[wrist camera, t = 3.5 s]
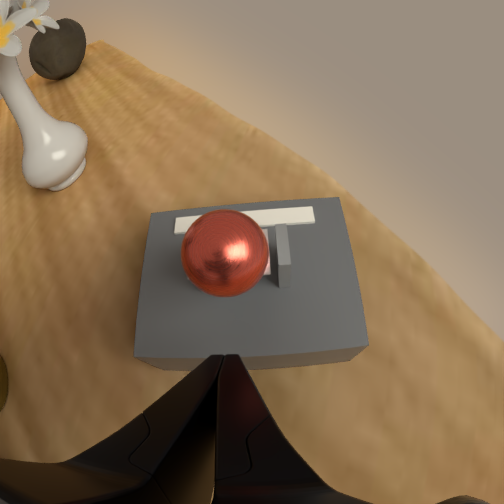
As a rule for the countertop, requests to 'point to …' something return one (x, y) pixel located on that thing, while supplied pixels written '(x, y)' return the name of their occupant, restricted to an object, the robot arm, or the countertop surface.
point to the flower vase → (37, 106)
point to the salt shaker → (3, 383)
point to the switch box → (255, 294)
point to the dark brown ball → (58, 50)
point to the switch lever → (225, 253)
